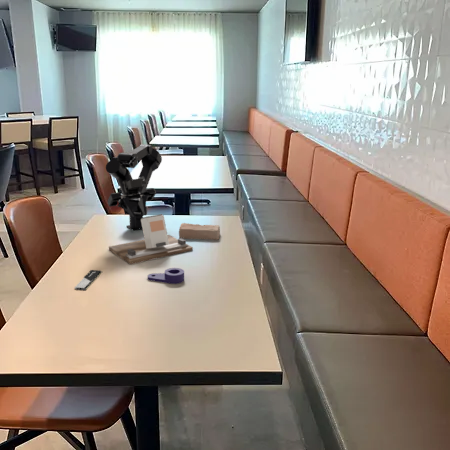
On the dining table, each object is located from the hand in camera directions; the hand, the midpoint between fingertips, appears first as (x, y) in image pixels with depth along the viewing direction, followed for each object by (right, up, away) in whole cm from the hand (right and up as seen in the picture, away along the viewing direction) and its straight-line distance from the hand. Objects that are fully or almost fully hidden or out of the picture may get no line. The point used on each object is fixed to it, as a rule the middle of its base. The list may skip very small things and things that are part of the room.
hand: (139, 215), depth 182 cm
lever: (+14, -22, -29) cm, 39 cm away
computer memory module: (-11, -22, -31) cm, 39 cm away
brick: (+22, -9, +14) cm, 28 cm away
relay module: (+8, -12, -8) cm, 17 cm away
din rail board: (+5, -13, -3) cm, 14 cm away
